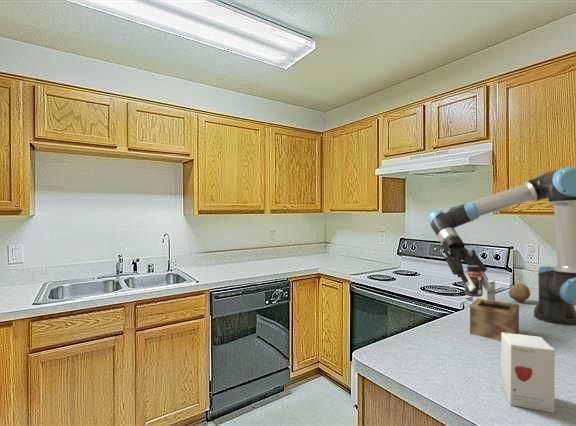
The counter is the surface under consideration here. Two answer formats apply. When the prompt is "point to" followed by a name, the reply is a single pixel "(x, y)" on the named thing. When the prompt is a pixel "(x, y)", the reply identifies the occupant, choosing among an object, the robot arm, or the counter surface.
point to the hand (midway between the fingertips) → (480, 288)
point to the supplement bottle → (474, 281)
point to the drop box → (493, 318)
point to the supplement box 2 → (527, 371)
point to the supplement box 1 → (488, 292)
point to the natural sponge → (519, 292)
